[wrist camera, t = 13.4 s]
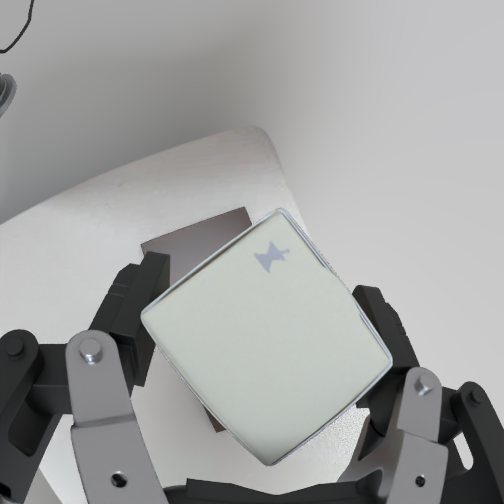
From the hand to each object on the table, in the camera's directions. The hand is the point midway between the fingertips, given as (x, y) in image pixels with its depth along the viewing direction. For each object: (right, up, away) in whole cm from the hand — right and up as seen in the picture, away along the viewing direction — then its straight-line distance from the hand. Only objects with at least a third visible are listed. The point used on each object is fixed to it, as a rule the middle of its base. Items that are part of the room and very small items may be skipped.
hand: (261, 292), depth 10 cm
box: (-1, -3, +9) cm, 10 cm away
